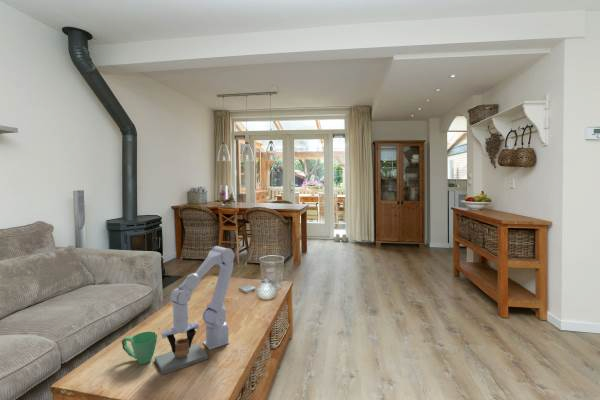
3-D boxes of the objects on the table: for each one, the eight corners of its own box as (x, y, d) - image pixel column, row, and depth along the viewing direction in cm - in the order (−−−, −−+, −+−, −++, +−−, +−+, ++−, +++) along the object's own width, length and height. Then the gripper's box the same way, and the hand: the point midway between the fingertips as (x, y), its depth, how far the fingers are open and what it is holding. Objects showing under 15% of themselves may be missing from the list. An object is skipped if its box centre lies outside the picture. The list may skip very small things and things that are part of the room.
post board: (197, 346, 144) (197, 335, 144) (207, 358, 135) (207, 347, 134) (154, 360, 133) (154, 348, 133) (162, 374, 124) (162, 362, 123)
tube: (186, 348, 138) (185, 336, 137) (190, 353, 133) (190, 342, 133) (172, 352, 134) (172, 340, 134) (176, 358, 130) (176, 346, 129)
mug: (162, 355, 137) (162, 332, 137) (149, 368, 128) (148, 344, 127) (130, 352, 139) (130, 330, 139) (115, 365, 130) (114, 341, 129)
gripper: (164, 325, 125) (165, 359, 126) (201, 316, 134) (201, 347, 135) (160, 319, 131) (160, 351, 132) (195, 310, 140) (196, 341, 140)
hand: (181, 349), depth 134 cm, fingers closed on tube, 6 cm apart
